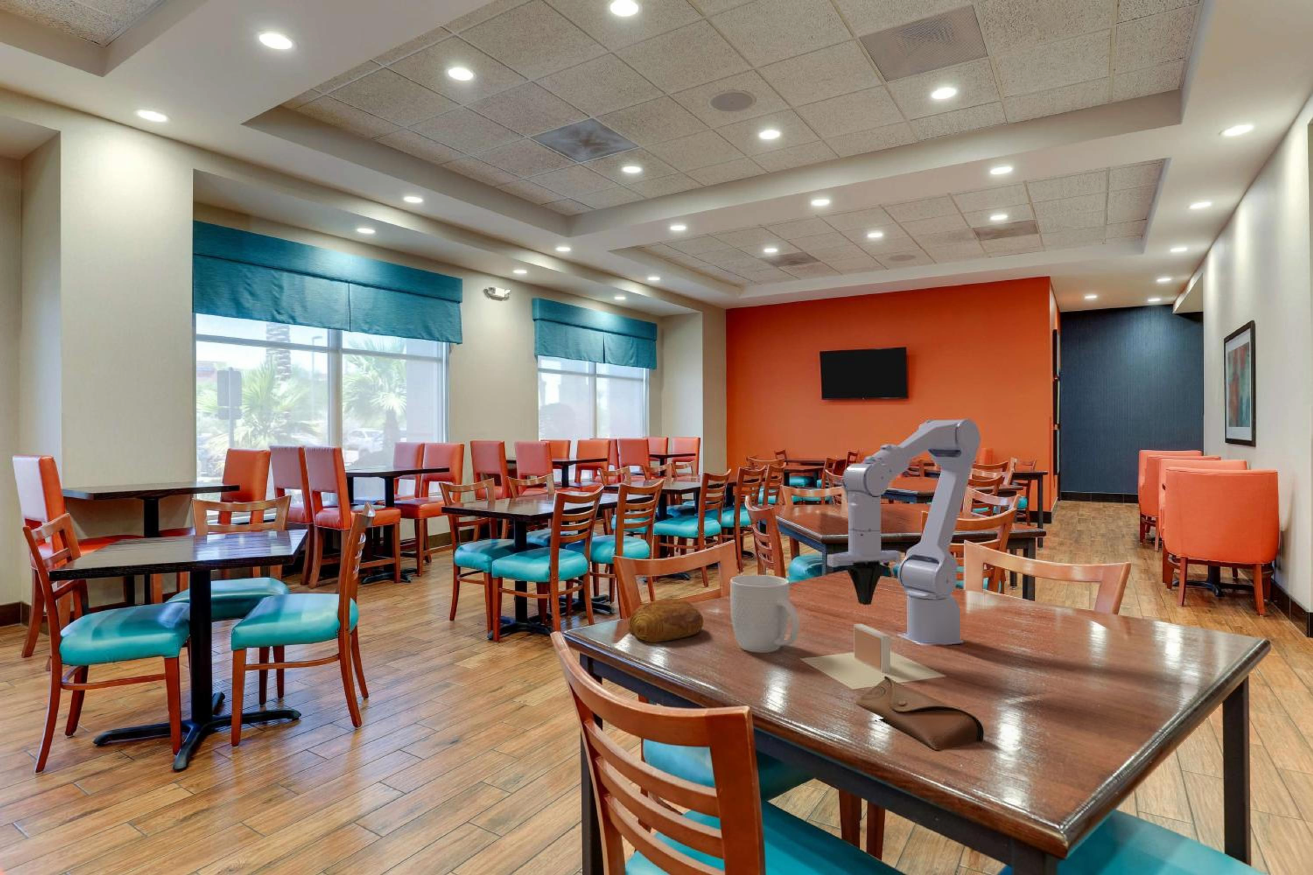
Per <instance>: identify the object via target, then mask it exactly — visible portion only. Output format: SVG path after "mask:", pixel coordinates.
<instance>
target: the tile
mask: <svg viewBox="0 0 1313 875" xmlns="http://www.w3.org/2000/svg"><path fill="white" fill-rule="evenodd" d="M890 651H891V635H890V634H887V633H884V632H883V631H880V630H877V629H875V628H873V627H870V626H868V625H865V624H864V623H856V624H855V623H854V624H853V652H854V659H856V660H858V661H860V662H862V663H864V664H866V665H868V666H870V667H872V668H874V669H876V670H878V671H880V672H890Z"/></svg>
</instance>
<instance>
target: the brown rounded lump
mask: <svg viewBox="0 0 1313 875" xmlns="http://www.w3.org/2000/svg"><path fill="white" fill-rule="evenodd" d="M628 626H629V628H628V632H629V633H630V634H631V635H633V636H635V637H637V638H638V639H640V640H643V641H645V642H647V643H653V644H654V643H660V642H668V641H672V640H673V641H675V640H678V639H683V638H685V637H689V636H694V635H695V634H697V633H699V632H701V630H702V629H703V626H704V617H703V615H702V613H701V611H699V610H698V608H697V607H695V606H694V605H693V604H692V603H691V602H690V601H687V600H683V599H677V598H667V597H666V598H660V599H656V600H654V601H651V602H647V603H644V604H641V605H640V606H638V607H637V608H636V609H635V610H634V611H633V613H632V614H631V616H630V618H629V620H628Z"/></svg>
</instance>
